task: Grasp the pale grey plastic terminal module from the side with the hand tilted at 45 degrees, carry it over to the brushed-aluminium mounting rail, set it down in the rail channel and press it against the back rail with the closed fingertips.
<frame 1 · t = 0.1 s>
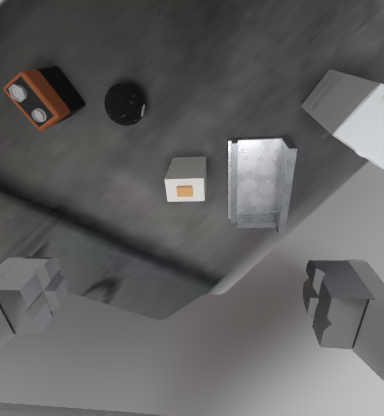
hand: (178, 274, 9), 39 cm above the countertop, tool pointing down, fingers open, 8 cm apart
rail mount: (255, 180, 49), on the countertop
billiard ball: (130, 101, 43), on the countertop
skincare box: (331, 102, 41), on the countertop
battery: (64, 92, 43), on the countertop
module: (190, 167, 49), on the countertop
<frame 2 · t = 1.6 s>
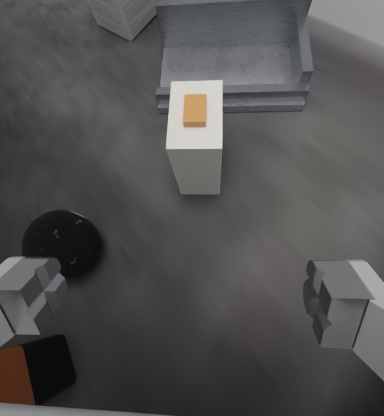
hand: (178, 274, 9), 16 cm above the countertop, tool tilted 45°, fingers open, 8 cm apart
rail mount: (229, 77, 31), on the countertop
billiard ball: (80, 249, 26), on the countertop
skincare box: (133, 17, 36), on the countertop
battery: (37, 372, 23), on the countertop
module: (201, 168, 28), on the countertop
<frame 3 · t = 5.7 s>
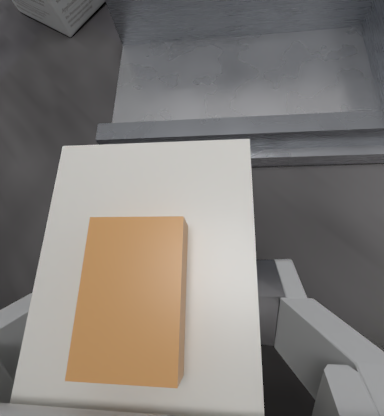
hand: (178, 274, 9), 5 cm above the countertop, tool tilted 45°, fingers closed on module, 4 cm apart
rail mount: (244, 95, 16), on the countertop
module: (193, 295, 13), on the countertop, touching gripper
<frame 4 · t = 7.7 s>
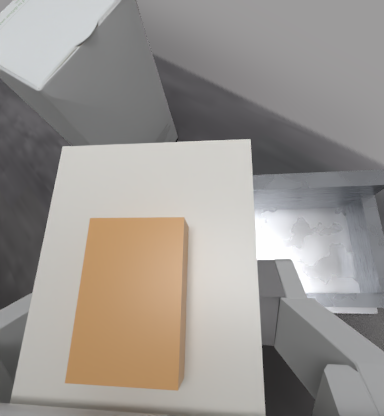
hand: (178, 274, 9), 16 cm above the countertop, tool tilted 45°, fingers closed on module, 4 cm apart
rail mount: (265, 252, 24), on the countertop
skincare box: (138, 155, 29), on the countertop
module: (193, 295, 13), point 11 cm above the countertop, touching gripper
when the fingers open (7 cm above the countertop, at t = 10.1 s): module drops 1 cm, resting on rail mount.
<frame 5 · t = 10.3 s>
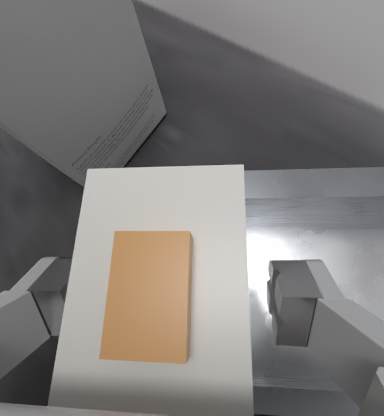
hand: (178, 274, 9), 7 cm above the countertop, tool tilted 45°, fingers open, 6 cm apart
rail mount: (306, 300, 14), on the countertop
skincare box: (106, 139, 19), on the countertop
module: (194, 294, 14), point 1 cm above the countertop, touching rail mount
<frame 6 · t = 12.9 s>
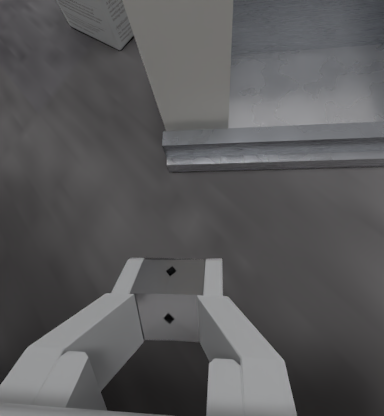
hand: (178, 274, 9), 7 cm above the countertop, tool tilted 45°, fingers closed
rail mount: (284, 104, 18), on the countertop
skincare box: (124, 13, 24), on the countertop
module: (198, 97, 18), point 1 cm above the countertop, touching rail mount
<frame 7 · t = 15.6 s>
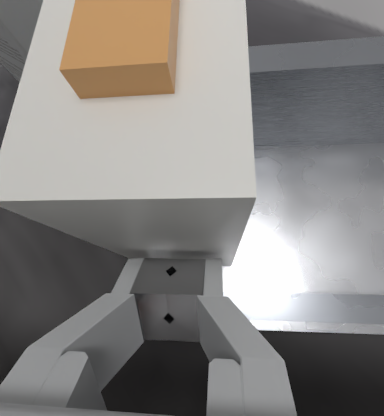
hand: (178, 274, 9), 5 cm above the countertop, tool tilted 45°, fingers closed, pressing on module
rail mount: (309, 221, 13), on the countertop
skincare box: (96, 72, 18), on the countertop
module: (189, 204, 13), point 1 cm above the countertop, touching gripper
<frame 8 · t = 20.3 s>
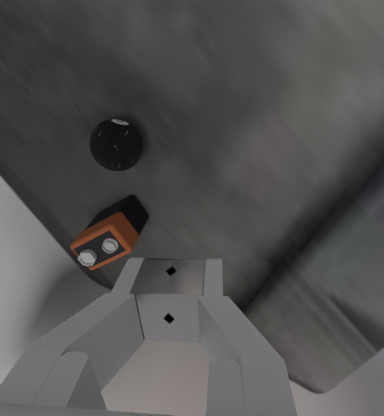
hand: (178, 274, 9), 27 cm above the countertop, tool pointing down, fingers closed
billiard ball: (125, 139, 35), on the countertop
battery: (124, 213, 40), on the countertop
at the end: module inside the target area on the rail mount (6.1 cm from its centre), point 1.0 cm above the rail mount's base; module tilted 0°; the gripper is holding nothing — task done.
